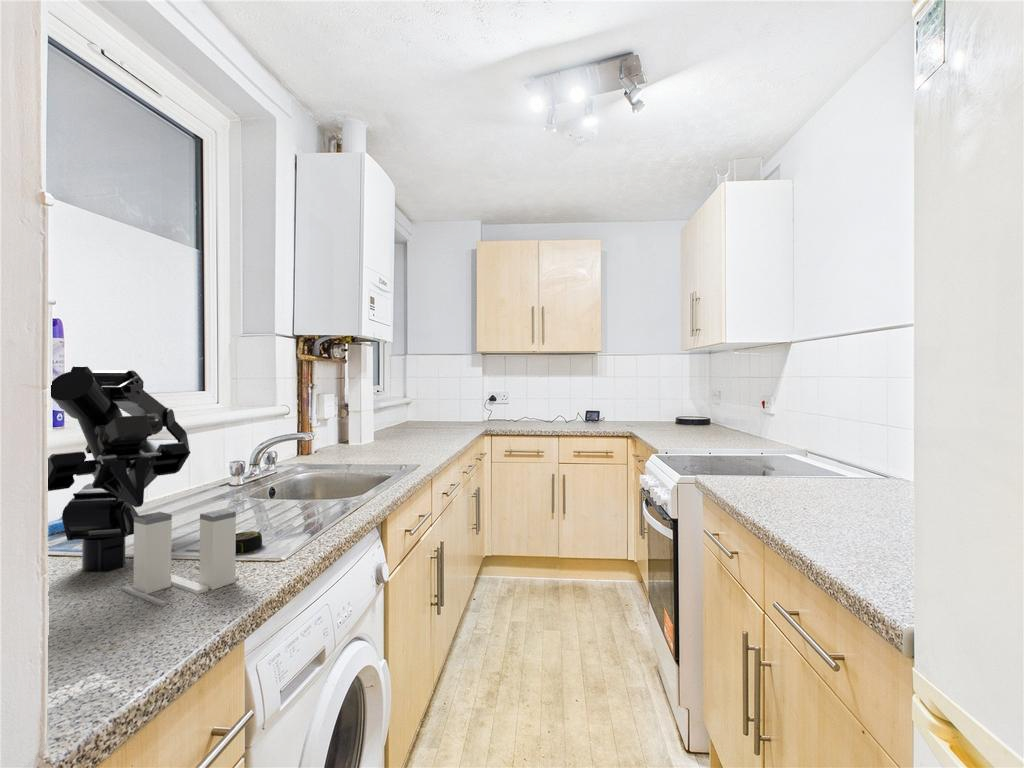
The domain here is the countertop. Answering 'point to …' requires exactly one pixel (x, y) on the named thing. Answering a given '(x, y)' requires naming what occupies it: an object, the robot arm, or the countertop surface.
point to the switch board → (176, 582)
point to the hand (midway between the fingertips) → (139, 505)
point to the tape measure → (248, 542)
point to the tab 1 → (152, 552)
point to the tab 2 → (217, 548)
